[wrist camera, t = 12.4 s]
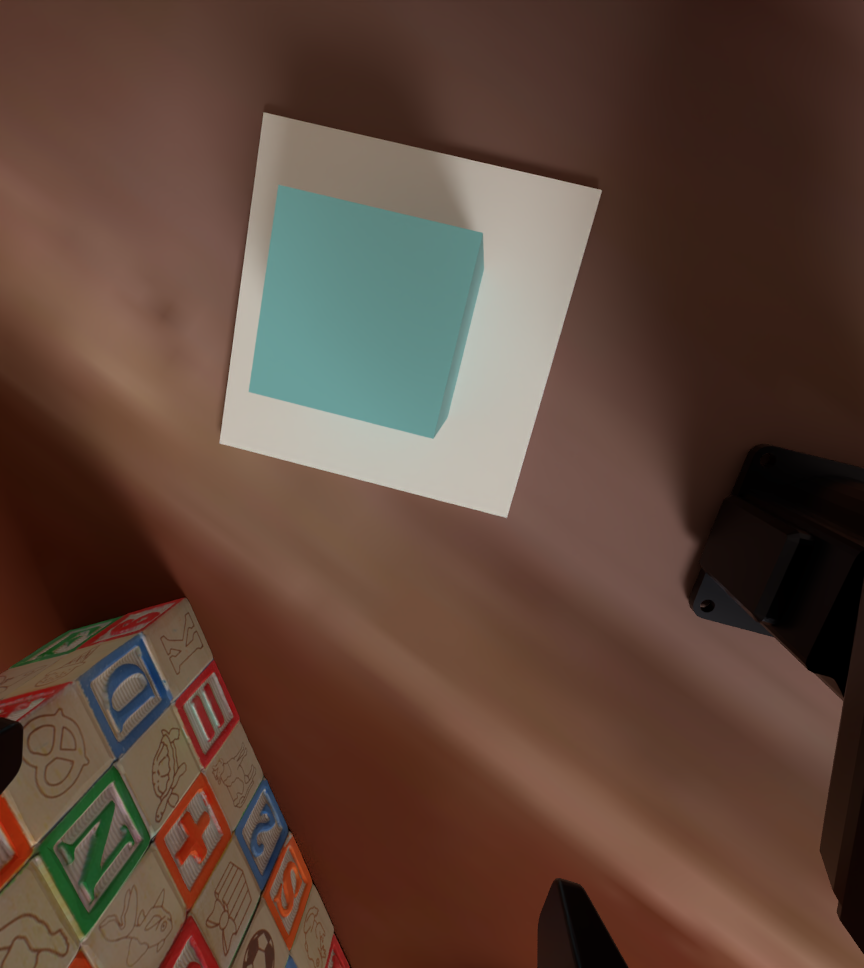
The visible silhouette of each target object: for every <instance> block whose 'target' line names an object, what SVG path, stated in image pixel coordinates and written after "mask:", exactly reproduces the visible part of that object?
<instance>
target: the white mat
mask: <svg viewBox="0 0 864 968" xmlns="http://www.w3.org/2000/svg"><path fill="white" fill-rule="evenodd" d="M278 185H282V186H286V187H291V188H295V189H299V190H303V191H308V192H312V193H316V194H320V195H325V196H329V197H333V198H337V199H342V200H346V201H350V202H354V203H358V204H363V205H367V206H371V207H375V208H380V209H384V210H388V211H392V212H397V213H401V214H405V215H409V216H414V217H418V218H422V219H426V220H431V221H435V222H439V223H443V224H448V225H452V226H456V227H460V228H465V229H469V230H473V231H477V232H482V233H483V248H484V272H483V276H482V280H481V284H480V288H479V292H478V296H477V300H476V304H475V308H474V312H473V316H472V320H471V325H470V329H469V333H468V337H467V341H466V345H465V349H464V353H463V357H462V361H461V365H460V369H459V373H458V377H457V381H456V386H455V390H454V394H453V398H452V402H451V406H450V410H449V414H448V418H447V419H446V421H445V422H444V424H443V425H442V427H441V428H440V430H439V431H438V433H437V434H436V436H435V437H434V439H432V438H428V437H424V436H420V435H416V434H412V433H408V432H404V431H400V430H396V429H392V428H388V427H384V426H380V425H376V424H372V423H369V422H365V421H361V420H357V419H353V418H349V417H345V416H341V415H337V414H333V413H329V412H325V411H321V410H317V409H313V408H310V407H306V406H302V405H298V404H294V403H290V402H286V401H282V400H278V399H274V398H270V397H266V396H262V395H258V394H254V393H250V392H249V385H250V378H251V371H252V365H253V358H254V351H255V344H256V337H257V330H258V323H259V316H260V309H261V302H262V295H263V288H264V281H265V274H266V267H267V260H268V253H269V246H270V239H271V232H272V225H273V218H274V211H275V205H276V198H277V191H278ZM601 192H602V190H599V189H595V188H590V187H586V186H582V185H577V184H573V183H569V182H564V181H560V180H556V179H551V178H547V177H543V176H538V175H534V174H530V173H525V172H521V171H517V170H512V169H508V168H504V167H499V166H495V165H491V164H486V163H482V162H477V161H473V160H469V159H464V158H460V157H456V156H451V155H447V154H443V153H438V152H434V151H430V150H425V149H421V148H417V147H412V146H408V145H404V144H399V143H395V142H391V141H386V140H382V139H377V138H373V137H369V136H364V135H360V134H356V133H351V132H347V131H343V130H338V129H334V128H330V127H325V126H321V125H317V124H312V123H308V122H304V121H299V120H295V119H291V118H286V117H282V116H278V115H273V114H269V113H263V121H262V128H261V136H260V143H259V151H258V158H257V166H256V173H255V181H254V188H253V196H252V203H251V211H250V218H249V226H248V233H247V241H246V248H245V256H244V263H243V271H242V278H241V286H240V293H239V301H238V308H237V316H236V323H235V331H234V338H233V346H232V353H231V361H230V368H229V376H228V383H227V391H226V398H225V406H224V414H223V421H222V429H221V436H220V443H221V444H224V445H228V446H232V447H236V448H240V449H244V450H248V451H251V452H255V453H259V454H263V455H267V456H271V457H274V458H278V459H282V460H286V461H290V462H294V463H298V464H301V465H305V466H309V467H313V468H317V469H321V470H325V471H328V472H332V473H336V474H340V475H344V476H348V477H351V478H355V479H359V480H363V481H367V482H371V483H375V484H378V485H382V486H386V487H390V488H394V489H398V490H402V491H405V492H409V493H413V494H417V495H421V496H425V497H429V498H432V499H436V500H440V501H444V502H448V503H452V504H455V505H459V506H463V507H467V508H471V509H475V510H479V511H482V512H486V513H490V514H494V515H498V516H502V517H506V518H507V516H508V512H509V509H510V505H511V502H512V498H513V495H514V492H515V488H516V485H517V481H518V478H519V474H520V471H521V467H522V464H523V461H524V457H525V454H526V450H527V447H528V443H529V440H530V436H531V433H532V430H533V426H534V423H535V419H536V416H537V412H538V409H539V406H540V402H541V399H542V395H543V392H544V388H545V385H546V381H547V378H548V375H549V371H550V368H551V364H552V361H553V357H554V354H555V350H556V347H557V344H558V340H559V337H560V333H561V330H562V326H563V323H564V320H565V316H566V313H567V309H568V306H569V302H570V299H571V295H572V292H573V289H574V285H575V282H576V278H577V275H578V271H579V268H580V265H581V261H582V258H583V254H584V251H585V247H586V244H587V240H588V237H589V234H590V230H591V227H592V223H593V220H594V216H595V213H596V209H597V206H598V203H599V199H600V196H601Z"/></svg>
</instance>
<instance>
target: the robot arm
mask: <svg viewBox="0 0 864 968" xmlns="http://www.w3.org/2000/svg"><path fill="white" fill-rule="evenodd" d="M766 453H769V455H770V460H769V462H768V463H767V464H765V465H763V466H761V464H760V458H761V457H762V456H763V455H764V454H766ZM699 563H700V565H701V567H702V568H701V570H700V573H699V575H698V578H697V580H696V583H695V585H694V588H693V590H692V593H691V595H690V598H689V605H690V608H691V609H692V610H693V611H694V612H695V614H696V615H697V616H699V617H701V618H704V619H707V620H711V621H715V622H719V623H723V624H726V625H730V626H734V627H738V628H741V629H745V630H749V631H753V632H757V633H760V634H764V635H768V636H772V637H775V638H776V639H777V640H778V641H779V642H780V643H781V644H782V645H783V646H784V647H785V648H786V649H787V650H788V651H789V652H790V653H791V654H792V655H793V656H794V657H795V658H796V659H797V660H798V661H799V662H801V663H802V664H803V665H804V666H805V667H806V668H807V669H808V670H809V671H811V672H813V673H815V674H816V675H817V676H818V677H819V678H820V679H821V680H822V681H823V682H824V683H825V684H826V685H827V686H828V687H829V688H830V689H831V690H832V691H833V692H834V693H835V694H836V695H837V696H839V697H840V698H841V699H842V700H843V707H842V713H841V719H840V725H839V732H838V738H837V744H836V750H835V756H834V762H833V768H832V774H831V780H830V787H829V793H828V799H827V805H826V811H825V817H824V823H823V830H822V837H821V844H820V853H821V856H822V859H823V862H824V865H825V868H826V871H827V874H828V877H829V880H830V883H831V886H832V889H833V892H834V894H835V895H836V897H837V899H838V901H839V902H838V907H837V914H838V917H839V919H840V921H841V922H842V924H843V925H844V927H845V928H846V930H847V931H848V932H849V934H850V935H851V937H852V938H853V940H854V941H855V942H856V944H857V945H858V947H859V948H860V950H861V951H862V952H863V954H864V468H861V467H857V466H853V465H849V464H845V463H841V462H837V461H833V460H829V459H825V458H821V457H817V456H813V455H809V454H805V453H801V452H797V451H793V450H789V449H785V448H781V447H777V446H773V445H769V444H760V445H757V446H755V447H753V448H752V449H751V450H750V451H749V453H748V454H747V457H746V459H745V462H744V464H743V467H742V469H741V472H740V474H739V477H738V479H737V481H736V484H735V486H734V489H733V491H732V494H731V496H729V497H727V498H726V499H724V501H723V503H722V505H721V508H720V510H719V513H718V515H717V518H716V520H715V523H714V525H713V528H712V530H711V533H710V535H709V538H708V540H707V543H706V545H705V548H704V550H703V553H702V555H701V558H700V560H699ZM704 600H710V604H709V605H708V606H706V607H700V604H701V603H702V601H704ZM23 734H24V729H23V726H22V724H21V723H20V722H17V721H14V720H10V719H7V718H3V717H0V795H1V794H2V793H3V791H4V790H5V789H6V788H7V787H8V785H9V784H10V783H11V782H12V781H13V779H14V778H15V777H16V775H17V773H18V772H19V770H20V767H21V764H22V759H23ZM538 968H628V966H627V964H626V962H625V960H624V959H623V957H622V955H621V953H620V952H619V950H618V948H617V946H616V945H615V943H614V941H613V939H612V937H611V936H610V934H609V932H608V930H607V929H606V927H605V925H604V923H603V921H602V920H601V918H600V916H599V914H598V913H597V911H596V909H595V907H594V905H593V904H592V902H591V900H590V898H589V897H588V895H587V893H586V891H585V890H584V888H583V887H582V886H581V885H580V884H578V883H575V882H571V881H568V880H564V879H561V878H557V879H555V880H554V881H553V883H552V885H551V888H550V890H549V893H548V896H547V898H546V901H545V903H544V906H543V908H542V911H541V914H540V917H539V923H538Z"/></svg>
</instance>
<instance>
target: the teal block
mask: <svg viewBox="0 0 864 968" xmlns="http://www.w3.org/2000/svg"><path fill="white" fill-rule="evenodd" d="M483 272H484V248H483V233H482V232H477V231H473V230H469V229H465V228H460V227H456V226H452V225H448V224H443V223H439V222H435V221H431V220H426V219H422V218H418V217H414V216H409V215H405V214H401V213H397V212H392V211H388V210H384V209H380V208H375V207H371V206H367V205H363V204H358V203H354V202H350V201H346V200H342V199H337V198H333V197H329V196H325V195H320V194H316V193H312V192H308V191H303V190H299V189H295V188H291V187H286V186H282V185H278V191H277V198H276V205H275V211H274V218H273V225H272V232H271V239H270V246H269V253H268V260H267V267H266V274H265V281H264V288H263V295H262V302H261V309H260V316H259V323H258V330H257V337H256V344H255V351H254V358H253V365H252V371H251V378H250V385H249V392H250V393H254V394H258V395H262V396H266V397H270V398H274V399H278V400H282V401H286V402H290V403H294V404H298V405H302V406H306V407H310V408H313V409H317V410H321V411H325V412H329V413H333V414H337V415H341V416H345V417H349V418H353V419H357V420H361V421H365V422H369V423H372V424H376V425H380V426H384V427H388V428H392V429H396V430H400V431H404V432H408V433H412V434H416V435H420V436H424V437H428V438H432V439H434V437H435V436H436V434H437V433H438V431H439V430H440V428H441V427H442V425H443V424H444V422H445V421H446V419H447V418H448V414H449V410H450V406H451V402H452V398H453V394H454V390H455V386H456V381H457V377H458V373H459V369H460V365H461V361H462V357H463V353H464V349H465V345H466V341H467V337H468V333H469V329H470V325H471V320H472V316H473V312H474V308H475V304H476V300H477V296H478V292H479V288H480V284H481V280H482V276H483Z"/></svg>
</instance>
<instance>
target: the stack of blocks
mask: <svg viewBox="0 0 864 968" xmlns="http://www.w3.org/2000/svg"><path fill="white" fill-rule="evenodd" d="M0 717H3V718H7V719H10V720H14V721H17V722H20V723H21V724H22V726H23V729H24V734H23V759H22V764H21V767H20V770H19V772H18V773H17V775H16V777H15V778H14V779H13V781H12V782H11V783H10V784H9V785H8V787H7V788H6V789H5V790H4V791H3V793H2V794H1V795H0V968H350V966H349V964H348V962H347V960H346V958H345V956H344V954H343V951H342V949H341V947H340V945H339V943H338V941H337V939H336V936H335V934H334V927H333V925H332V923H331V920H330V918H329V916H328V913H327V911H326V909H325V907H324V904H323V902H322V900H321V898H320V896H319V893H318V891H317V889H316V888H315V886H314V884H313V883H312V879H311V876H310V873H309V871H308V869H307V866H306V864H305V862H304V860H303V857H302V855H301V852H300V850H299V848H298V846H297V843H296V841H295V839H294V837H293V834H292V833H291V832H290V831H288V827H287V824H286V822H285V820H284V817H283V815H282V813H281V811H280V809H279V806H278V804H277V802H276V800H275V798H274V795H273V793H272V791H271V789H270V786H269V784H268V782H267V780H266V779H265V777H264V776H263V772H262V769H261V767H260V765H259V763H258V761H257V758H256V756H255V754H254V752H253V749H252V747H251V745H250V743H249V741H248V738H247V736H246V734H245V732H244V729H243V727H242V725H241V723H240V721H239V719H240V718H239V715H238V713H237V710H236V708H235V705H234V703H233V701H232V699H231V697H230V694H229V692H228V690H227V688H226V685H225V683H224V681H223V679H222V676H221V674H220V672H219V670H218V667H217V665H216V663H215V661H214V659H213V656H212V653H211V650H210V648H209V646H208V644H207V641H206V639H205V637H204V634H203V632H202V630H201V628H200V625H199V623H198V621H197V619H196V616H195V614H194V612H193V610H192V607H191V605H190V603H189V601H188V599H187V598H185V597H184V598H180V599H176V600H173V601H169V602H166V603H162V604H159V605H155V606H152V607H148V608H145V609H141V610H138V611H135V612H131V613H127V614H126V615H124V616H121V617H117V618H113V619H110V620H106V621H103V622H99V623H95V624H92V625H88V626H84V627H81V628H77V629H73V630H69V631H67V632H65V633H64V634H62V635H60V636H58V637H57V638H55V639H54V640H52V641H50V642H49V643H47V644H46V645H44V646H42V647H41V648H39V649H38V650H36V651H35V652H33V653H32V654H30V655H29V656H27V657H26V658H24V659H22V660H21V661H19V662H18V663H16V664H14V665H13V666H12V667H10V668H9V669H8V670H7V671H5V672H3V673H2V674H0Z"/></svg>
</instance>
